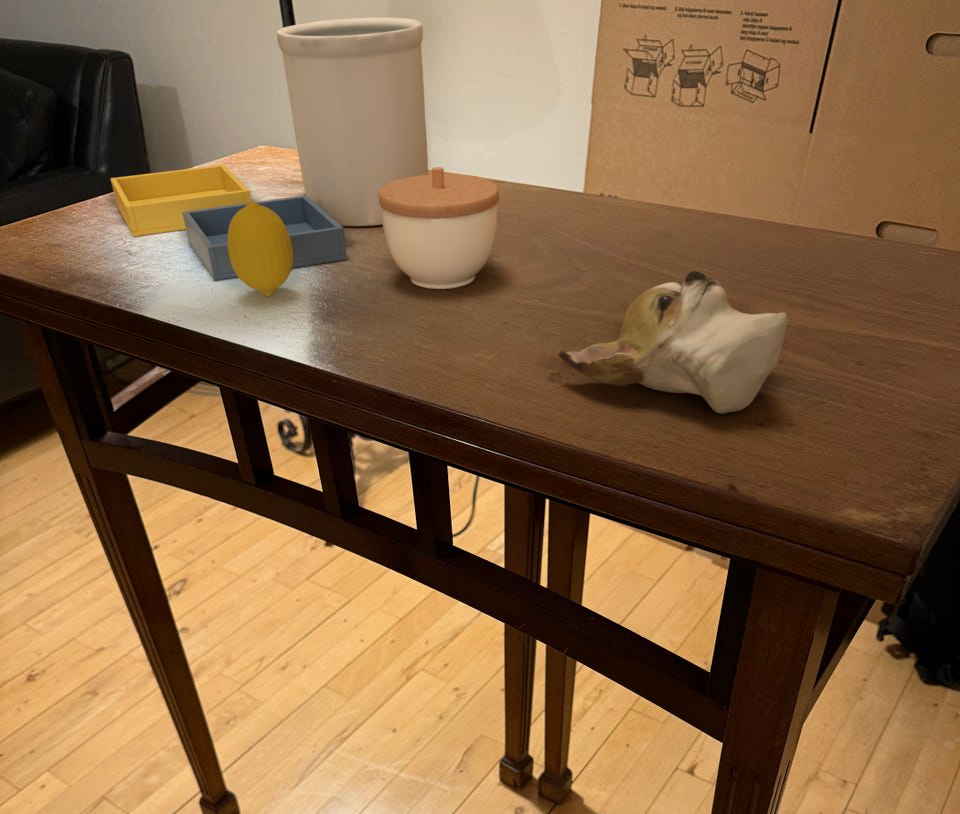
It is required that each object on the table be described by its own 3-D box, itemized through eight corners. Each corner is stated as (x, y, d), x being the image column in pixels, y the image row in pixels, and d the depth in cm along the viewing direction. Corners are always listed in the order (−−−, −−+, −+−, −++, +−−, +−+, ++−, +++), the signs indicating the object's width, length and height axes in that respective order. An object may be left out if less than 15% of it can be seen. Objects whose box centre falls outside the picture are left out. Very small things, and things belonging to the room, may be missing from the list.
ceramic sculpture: (747, 312, 54) (551, 273, 62) (730, 447, 59) (552, 394, 67) (830, 267, 60) (641, 237, 68) (808, 394, 65) (635, 351, 73)
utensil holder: (276, 222, 100) (247, 32, 89) (342, 188, 111) (323, 14, 99) (396, 235, 96) (381, 37, 84) (452, 198, 106) (446, 17, 95)
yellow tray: (133, 236, 97) (125, 206, 95) (117, 206, 106) (110, 178, 104) (254, 219, 101) (249, 190, 99) (229, 191, 110) (224, 164, 108)
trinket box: (362, 281, 85) (350, 171, 79) (439, 252, 91) (434, 148, 85) (446, 307, 80) (441, 191, 74) (522, 274, 86) (523, 165, 80)
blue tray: (214, 280, 86) (207, 247, 84) (188, 242, 95) (182, 211, 93) (347, 259, 90) (343, 227, 88) (310, 224, 99) (306, 195, 97)
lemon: (308, 297, 82) (295, 202, 77) (252, 311, 80) (234, 214, 75) (283, 281, 86) (268, 189, 80) (227, 293, 83) (209, 200, 78)
